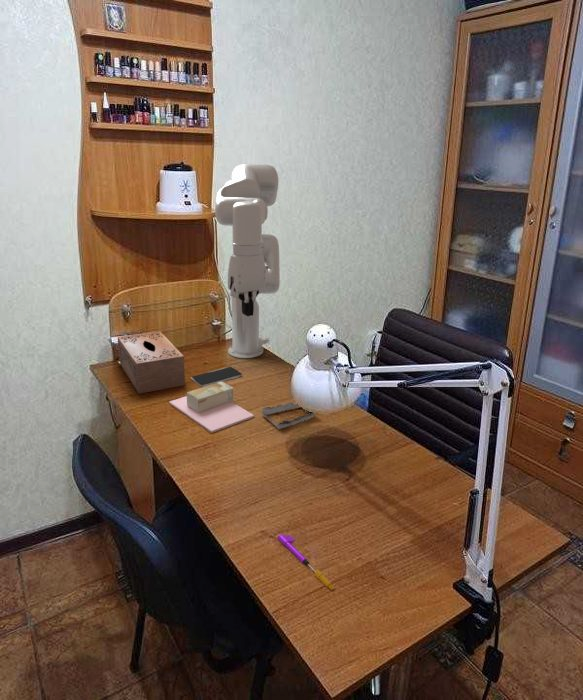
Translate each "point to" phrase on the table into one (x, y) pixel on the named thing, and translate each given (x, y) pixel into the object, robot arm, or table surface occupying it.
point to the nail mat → (213, 414)
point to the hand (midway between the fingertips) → (247, 314)
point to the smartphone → (216, 376)
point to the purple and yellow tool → (302, 558)
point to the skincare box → (209, 396)
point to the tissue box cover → (151, 361)
